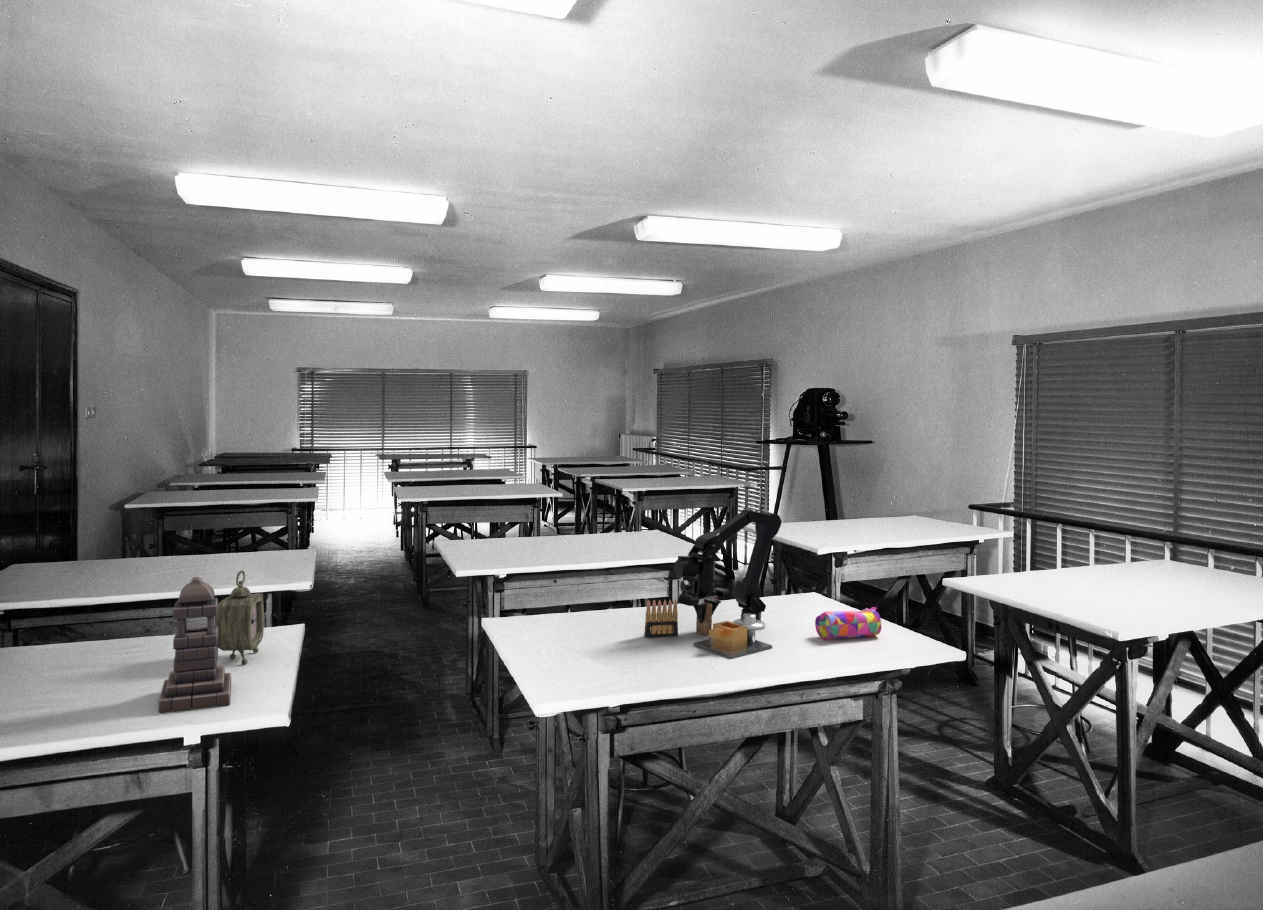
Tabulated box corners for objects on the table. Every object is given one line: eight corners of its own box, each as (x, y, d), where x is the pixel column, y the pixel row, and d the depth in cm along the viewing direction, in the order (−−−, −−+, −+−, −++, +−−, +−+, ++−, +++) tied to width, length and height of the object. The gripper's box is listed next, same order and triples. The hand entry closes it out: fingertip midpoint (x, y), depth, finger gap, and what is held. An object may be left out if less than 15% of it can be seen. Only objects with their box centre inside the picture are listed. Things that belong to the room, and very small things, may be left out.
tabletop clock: (249, 666, 224) (248, 576, 223) (213, 667, 223) (213, 576, 221) (264, 650, 239) (263, 565, 237) (230, 651, 237) (230, 565, 235)
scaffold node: (740, 634, 267) (741, 607, 267) (778, 646, 255) (779, 618, 254) (693, 645, 254) (694, 616, 253) (731, 658, 242) (732, 628, 241)
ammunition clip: (676, 635, 265) (677, 598, 264) (678, 636, 263) (679, 599, 262) (644, 636, 263) (645, 599, 262) (645, 638, 261) (646, 600, 260)
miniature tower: (164, 691, 205) (162, 572, 203) (231, 684, 211) (230, 568, 209) (158, 714, 190) (156, 586, 188) (230, 705, 196) (229, 581, 194)
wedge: (701, 631, 270) (702, 601, 270) (711, 634, 267) (712, 603, 266) (696, 632, 269) (697, 602, 268) (705, 635, 265) (706, 604, 264)
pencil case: (865, 630, 277) (866, 603, 276) (884, 637, 268) (885, 610, 267) (811, 636, 268) (813, 609, 267) (830, 644, 259) (831, 616, 259)
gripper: (708, 567, 279) (707, 613, 280) (667, 574, 267) (666, 621, 268) (732, 573, 270) (731, 620, 271) (690, 580, 258) (689, 629, 259)
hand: (704, 622), depth 267 cm, fingers closed on wedge, 2 cm apart
